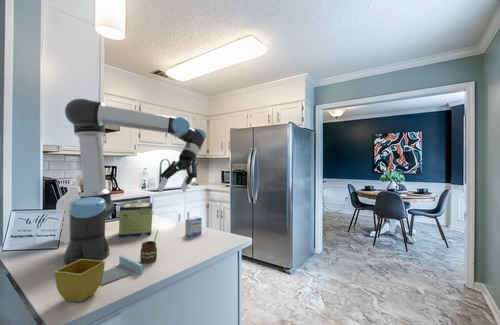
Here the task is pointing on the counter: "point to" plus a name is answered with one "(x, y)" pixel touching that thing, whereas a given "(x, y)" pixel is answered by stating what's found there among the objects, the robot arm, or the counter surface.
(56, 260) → the counter surface
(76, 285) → the flower pot
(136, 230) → the protein box
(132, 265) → the acrylic wall
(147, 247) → the utensil holder
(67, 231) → the milk
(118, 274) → the slate pad
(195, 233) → the medicine box
